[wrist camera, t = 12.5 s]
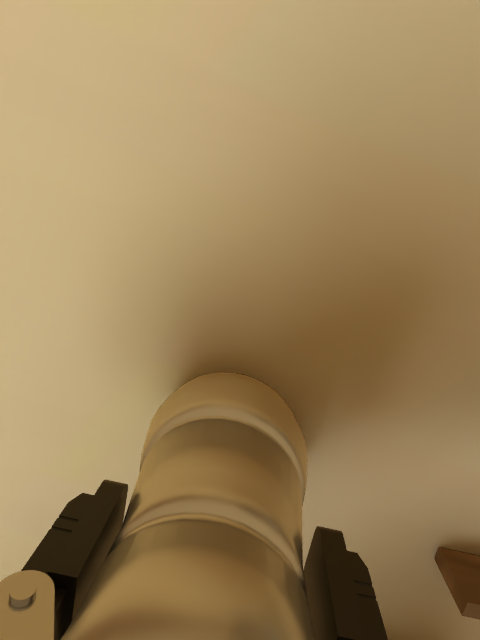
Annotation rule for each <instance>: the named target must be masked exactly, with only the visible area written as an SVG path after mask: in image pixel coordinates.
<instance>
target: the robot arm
mask: <svg viewBox="0 0 480 640" xmlns="http://www.w3.org/2000/svg"><path fill="white" fill-rule="evenodd" d="M127 492H128V485H127V484H123V483H119V482H114V481H109V480H104V481H103V482H102V483H101V485H100V487H99V488H98V490H97V492H96V493H95V495H90V494H85V493H82V494H80V495H79V496H77V497H76V498H74V499H73V500H71V501H70V502H68V504H67V505H66V507H65V508H64V510H63V511H62V512H61V514H60V515H59V518H57V520H56V521H55V523H54V524H53V525H52V528H51V529H50V530H49V531H48V533H47V534H46V536H45V537H44V539H43V540H42V541H41V543H40V544H39V546H38V547H37V549H36V550H35V552H34V553H33V554H32V556H31V557H30V559H29V560H28V562H27V563H26V565H25V566H24V567H23V569H22V570H21V571H20V572H17V573H14V574H12V575H10V576H8V577H6V578H5V579H3V580H2V581H1V582H0V640H60V639H61V638H62V636H63V635H64V633H65V632H66V630H67V629H68V627H69V625H70V624H71V622H72V620H73V618H74V617H75V615H76V613H77V611H78V609H79V607H80V605H81V603H82V601H83V599H84V598H85V596H86V594H87V592H88V590H89V588H90V586H91V584H92V582H93V580H94V579H95V577H96V575H97V573H98V571H99V569H100V568H101V566H102V564H103V563H104V561H105V560H106V557H107V554H108V552H109V550H110V548H111V546H112V545H113V543H114V541H115V539H116V537H117V535H118V533H119V531H120V530H121V528H122V524H123V518H124V511H125V505H126V498H127ZM304 577H305V582H306V588H307V601H308V605H309V609H310V612H311V618H312V625H313V631H314V637H315V640H388V638H387V635H386V631H385V628H384V624H383V621H382V617H381V614H380V610H379V607H378V603H377V601H376V596H375V592H374V589H373V587H372V582H371V578H370V575H369V571H368V568H367V567H366V565H365V564H364V562H363V561H362V559H361V558H360V557H359V555H358V554H357V553H355V552H350V551H347V550H346V545H345V541H344V537H343V533H342V532H341V531H338V530H333V529H329V528H324V527H320V526H317V527H316V529H315V532H314V536H313V539H312V542H311V546H310V549H309V553H308V556H307V560H306V563H305V567H304Z"/></svg>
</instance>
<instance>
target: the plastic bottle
mask: <svg viewBox="0 0 480 640" xmlns="http://www.w3.org/2000/svg"><path fill="white" fill-rule="evenodd" d="M306 484H307V448H306V444H305V440H304V436H303V434H302V432H301V430H300V428H299V426H298V423H297V421H296V419H295V417H294V416H293V414H292V412H291V410H290V408H289V407H288V405H287V404H286V403H285V401H284V400H283V399H282V397H280V396H279V395H278V394H277V393H276V392H275V391H274V390H273V389H272V388H270V387H269V386H267V385H265V384H264V383H262V382H261V381H259V380H257V379H254V378H251V377H249V376H246V375H242V374H237V373H232V372H216V373H211V374H206V375H202V376H199V377H197V378H195V379H192V380H190V381H189V382H187V383H186V384H184V385H183V386H181V387H180V388H179V389H177V390H176V391H175V392H174V393H173V394H172V395H171V396H170V397H169V398H168V399H167V400H166V401H165V402H164V403H163V404H162V405H161V406H160V407H159V409H158V410H157V412H156V414H155V415H154V417H153V419H152V421H151V423H150V427H149V430H148V433H147V436H146V440H145V444H144V447H143V451H142V456H141V464H140V474H139V477H138V480H137V483H136V486H135V489H134V492H133V495H132V498H131V501H130V504H129V507H128V510H127V513H126V516H125V519H124V522H123V525H122V528H121V530H120V531H119V533H118V535H117V537H116V539H115V541H114V543H113V545H112V546H111V548H110V550H109V552H108V554H107V557H106V560H105V561H104V563H103V564H102V566H101V568H100V569H99V571H98V573H97V575H96V577H95V579H94V580H93V582H92V584H91V586H90V588H89V590H88V592H87V594H86V596H85V598H84V599H83V601H82V603H81V605H80V607H79V609H78V611H77V613H76V615H75V617H74V618H73V620H72V622H71V624H70V625H69V627H68V629H67V630H66V632H65V633H64V635H63V636H62V638H61V639H60V640H315V637H314V631H313V625H312V618H311V612H310V609H309V605H308V601H307V588H306V582H305V577H304V571H303V560H302V505H303V500H304V495H305V490H306Z"/></svg>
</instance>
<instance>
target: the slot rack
mask: <svg viewBox="0 0 480 640" xmlns="http://www.w3.org/2000/svg"><path fill="white" fill-rule="evenodd" d="M435 561H436V563H437V565H438V567H439V569H440V571H441V573H442V575H443V577H444V580H445V582H446V584H447V586H448V588H449V590H450V592H451V594H452V596H453V598H454V600H455V602H456V604H457V606H458V608H459V610H460V612H461V614H462V616H467V617H471V618H476V619H480V556H478V555H473V554H468V553H464V552H459V551H454V550H450V549H445V548H440V547H439V549H438V551H437V554H436V556H435Z"/></svg>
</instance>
